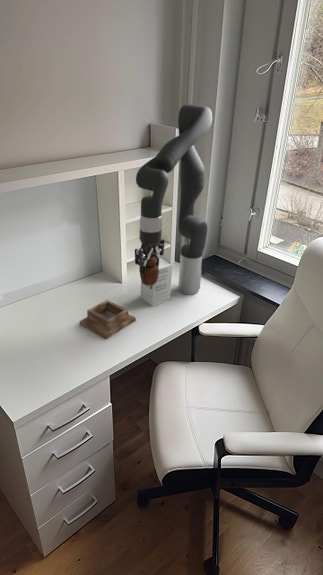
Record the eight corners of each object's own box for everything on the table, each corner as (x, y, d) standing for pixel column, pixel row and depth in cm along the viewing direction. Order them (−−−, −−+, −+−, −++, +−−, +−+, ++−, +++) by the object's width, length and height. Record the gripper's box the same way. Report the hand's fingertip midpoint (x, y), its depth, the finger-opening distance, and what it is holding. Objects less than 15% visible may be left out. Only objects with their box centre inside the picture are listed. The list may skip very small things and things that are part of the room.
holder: (109, 307, 166) (109, 296, 164) (135, 320, 159) (135, 308, 156) (79, 324, 155) (79, 312, 153) (106, 339, 148) (105, 326, 145)
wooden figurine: (141, 288, 148) (142, 249, 141) (138, 280, 153) (138, 243, 146) (159, 286, 150) (161, 248, 143) (155, 278, 155) (157, 242, 147)
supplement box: (139, 296, 175) (140, 261, 167) (157, 290, 180) (158, 256, 172) (152, 306, 169) (154, 270, 160) (170, 300, 173) (172, 264, 165)
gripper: (155, 219, 148) (153, 261, 156) (128, 230, 138) (128, 274, 146) (172, 224, 144) (169, 267, 152) (145, 236, 134) (144, 281, 142)
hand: (149, 270), depth 149 cm, fingers closed on wooden figurine, 6 cm apart
